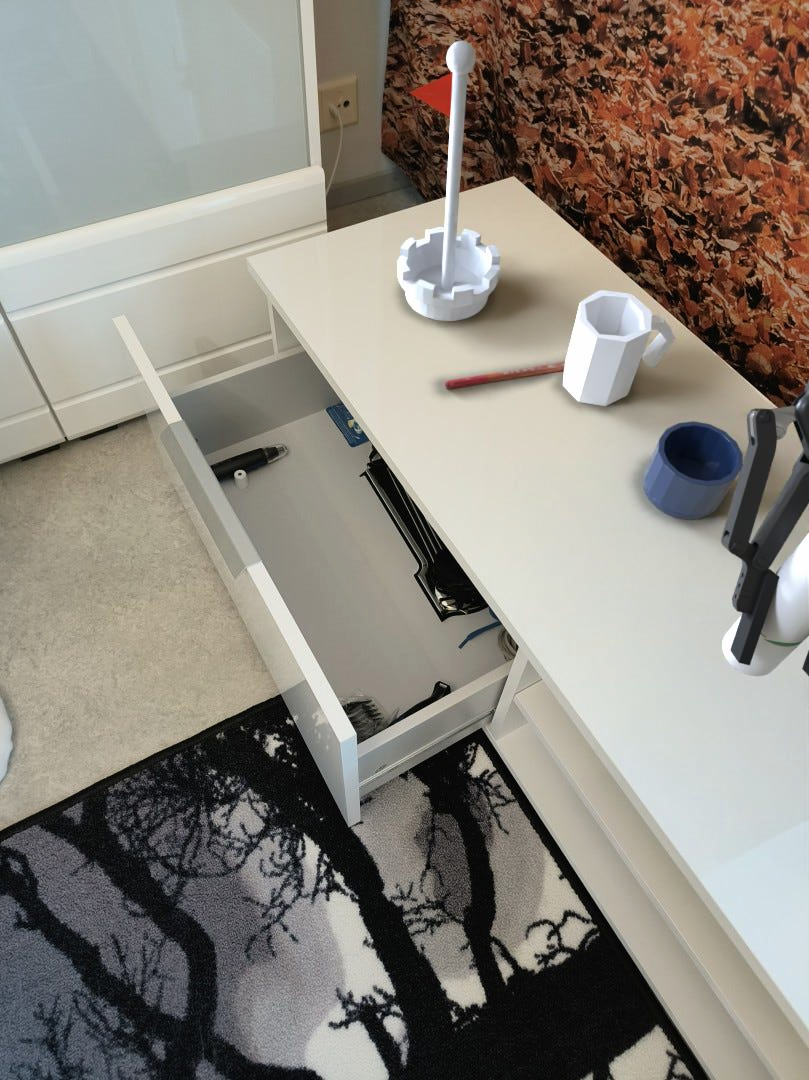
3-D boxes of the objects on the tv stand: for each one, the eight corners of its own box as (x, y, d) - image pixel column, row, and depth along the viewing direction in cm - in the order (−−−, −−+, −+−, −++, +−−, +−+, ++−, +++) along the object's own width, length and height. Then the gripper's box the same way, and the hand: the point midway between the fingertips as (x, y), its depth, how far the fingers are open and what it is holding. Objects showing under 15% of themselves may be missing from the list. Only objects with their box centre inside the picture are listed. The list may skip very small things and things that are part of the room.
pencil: (446, 391, 88) (446, 385, 88) (444, 384, 89) (444, 379, 88) (596, 367, 91) (598, 361, 90) (593, 361, 91) (594, 355, 90)
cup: (734, 481, 81) (756, 446, 76) (701, 532, 77) (722, 499, 72) (663, 446, 84) (680, 409, 79) (629, 494, 80) (644, 458, 75)
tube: (711, 650, 58) (795, 548, 46) (740, 616, 60) (829, 508, 48) (759, 687, 57) (860, 591, 44) (788, 651, 58) (893, 548, 46)
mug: (573, 410, 87) (591, 346, 78) (552, 359, 91) (567, 294, 83) (670, 397, 88) (698, 332, 80) (644, 347, 92) (668, 281, 84)
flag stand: (499, 266, 101) (531, 16, 76) (492, 331, 94) (525, 79, 69) (405, 257, 102) (405, 8, 77) (390, 321, 95) (386, 69, 70)
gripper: (1006, 361, 49) (884, 681, 54) (738, 310, 52) (646, 620, 57) (1083, 353, 42) (934, 724, 47) (766, 295, 45) (658, 651, 50)
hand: (776, 666), depth 52 cm, fingers closed on tube, 4 cm apart
